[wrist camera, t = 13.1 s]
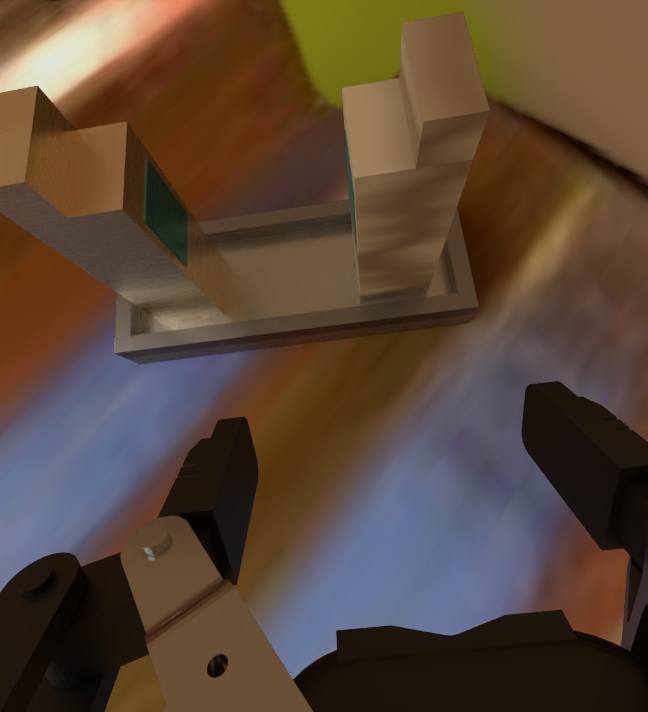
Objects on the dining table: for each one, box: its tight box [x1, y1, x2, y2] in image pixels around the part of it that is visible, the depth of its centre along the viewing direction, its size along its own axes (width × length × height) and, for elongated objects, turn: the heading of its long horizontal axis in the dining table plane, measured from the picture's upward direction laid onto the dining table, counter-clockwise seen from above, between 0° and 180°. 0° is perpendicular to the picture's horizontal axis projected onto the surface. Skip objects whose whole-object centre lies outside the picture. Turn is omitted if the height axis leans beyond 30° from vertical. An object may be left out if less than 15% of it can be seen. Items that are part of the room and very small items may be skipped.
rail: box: [0, 86, 479, 364], centre depth 20 cm, size 22×8×14 cm, turn 95°
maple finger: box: [342, 12, 490, 300], centre depth 19 cm, size 4×4×13 cm
